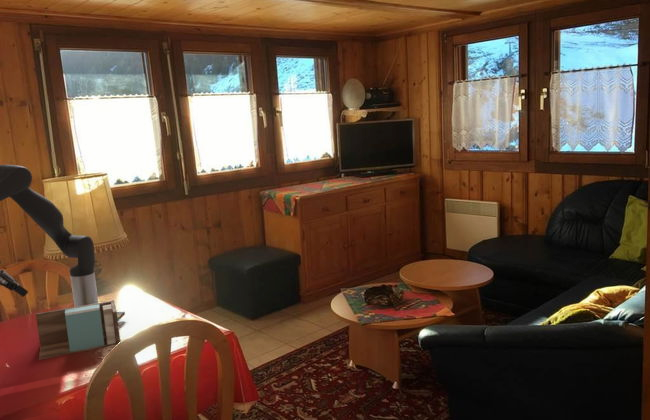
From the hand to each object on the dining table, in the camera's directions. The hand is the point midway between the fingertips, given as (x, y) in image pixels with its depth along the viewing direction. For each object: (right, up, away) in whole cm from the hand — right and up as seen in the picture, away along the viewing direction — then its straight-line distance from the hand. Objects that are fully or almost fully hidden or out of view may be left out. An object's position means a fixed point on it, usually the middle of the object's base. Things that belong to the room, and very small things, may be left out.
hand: (25, 294), depth 185 cm
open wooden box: (+13, -21, +12) cm, 27 cm away
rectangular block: (+17, -20, +9) cm, 27 cm away
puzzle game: (+10, -18, +31) cm, 37 cm away
